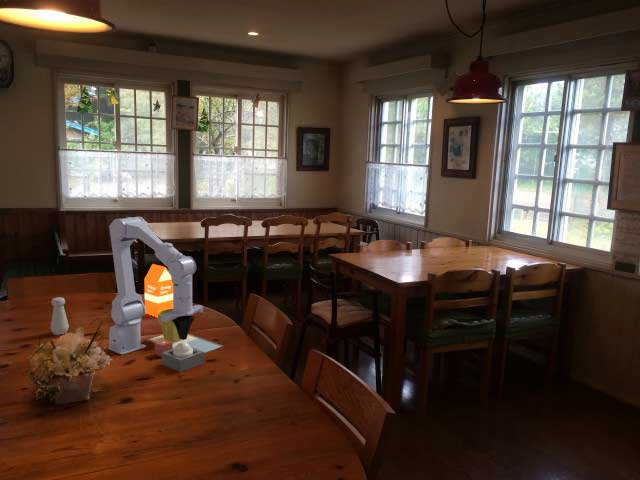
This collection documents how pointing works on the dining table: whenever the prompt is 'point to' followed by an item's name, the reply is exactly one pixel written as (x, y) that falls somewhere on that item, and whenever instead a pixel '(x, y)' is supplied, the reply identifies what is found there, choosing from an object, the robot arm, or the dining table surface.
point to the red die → (162, 347)
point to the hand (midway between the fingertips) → (183, 338)
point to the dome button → (183, 350)
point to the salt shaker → (59, 317)
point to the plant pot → (168, 327)
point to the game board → (192, 343)
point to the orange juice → (158, 290)
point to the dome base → (182, 360)
